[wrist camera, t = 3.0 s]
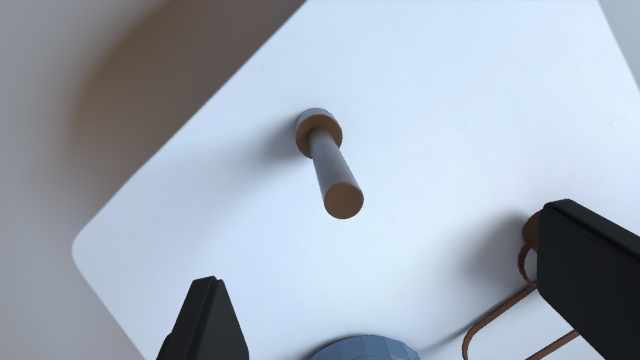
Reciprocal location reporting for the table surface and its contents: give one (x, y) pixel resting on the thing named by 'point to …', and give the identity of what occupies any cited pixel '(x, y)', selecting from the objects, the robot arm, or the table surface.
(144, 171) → the table surface
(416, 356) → the bowl
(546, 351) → the brown barrel bag
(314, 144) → the stirring stick
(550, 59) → the table surface
